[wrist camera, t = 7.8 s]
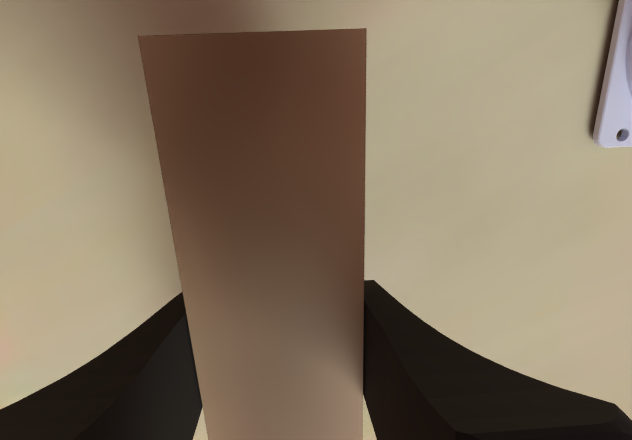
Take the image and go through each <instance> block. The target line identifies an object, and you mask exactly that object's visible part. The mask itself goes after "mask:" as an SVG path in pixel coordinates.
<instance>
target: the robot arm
mask: <svg viewBox="0 0 632 440" xmlns="http://www.w3.org/2000/svg"><path fill="white" fill-rule="evenodd" d="M619 130H622V134H621V136H620V137H619V138H618V139H616V135H617V133H618V131H619ZM593 140H594V143H595V144H597V145H598V146H602V147H607V148H609V147H630V146H632V0H619V3H618V8H617V14H616V19H615V24H614V29H613V34H612V39H611V45H610V50H609V55H608V60H607V65H606V70H605V76H604V81H603V86H602V91H601V96H600V101H599V107H598V112H597V117H596V122H595V127H594V133H593ZM363 395H364V398H365V401H366V405H367V408H368V411H369V415H370V418H371V421H372V425H373V428H374V431H375V435H376V438H377V440H632V420H631V419H630V418H629V417H628V416H627V415H626V414H625V413H624V412H623V411H622V410H621V409H620V408H619V407H618V406H617V405H615V404H613V403H610V402H606V401H603V400H600V399H596V398H593V397H589V396H586V395H582V394H579V393H576V392H572V391H569V390H565V389H562V388H559V387H556V386H553V385H550V384H547V383H545V382H542V381H539V380H536V379H534V378H531V377H528V376H526V375H523V374H521V373H518V372H516V371H513V370H511V369H508V368H506V367H504V366H502V365H500V364H497V363H495V362H493V361H491V360H489V359H487V358H484V357H482V356H480V355H478V354H476V353H474V352H472V351H471V350H469V349H467V348H465V347H463V346H462V345H460V344H458V343H456V342H455V341H453V340H451V339H449V338H448V337H446V336H445V335H443V334H441V333H440V332H438V331H437V330H435V329H434V328H433V327H431V326H430V325H428V324H427V323H425V322H424V321H422V320H421V319H420V318H418V317H417V316H416V315H414V314H413V313H412V312H411V311H409V310H408V309H407V308H406V307H404V306H403V305H402V304H401V303H399V302H398V301H397V300H396V299H395V298H394V297H392V296H391V295H390V294H389V293H388V292H387V291H386V290H384V289H383V288H382V287H381V286H380V285H379V284H378V283H376V282H375V281H374V280H366V281H364V337H363ZM202 407H203V406H202V400H201V394H200V388H199V383H198V377H197V371H196V366H195V360H194V354H193V348H192V343H191V337H190V331H189V326H188V320H187V314H186V308H185V303H184V297H183V292H182V293H180V294H179V295H177V296H176V297H175V298H173V299H172V300H171V301H170V302H168V303H167V304H166V305H165V306H164V307H162V308H161V309H160V310H159V311H158V312H156V313H155V314H154V315H153V316H151V317H150V318H149V319H148V320H146V321H145V322H144V323H143V324H141V325H140V326H139V327H138V328H136V329H135V330H134V331H132V332H131V333H130V334H128V335H127V336H125V337H124V338H123V339H121V340H120V341H119V342H117V343H116V344H115V345H113V346H112V347H110V348H109V349H108V350H106V351H105V352H103V353H102V354H100V355H99V356H97V357H96V358H94V359H93V360H91V361H90V362H88V363H87V364H85V365H83V366H82V367H80V368H78V369H77V370H75V371H73V372H72V373H70V374H68V375H67V376H65V377H63V378H61V379H60V380H58V381H56V382H54V383H52V384H50V385H48V386H46V387H44V388H42V389H41V390H39V391H37V392H35V393H33V394H31V395H29V396H27V397H25V398H23V399H21V400H20V401H18V402H15V403H13V404H11V405H9V406H7V407H5V408H3V409H0V440H193V436H194V433H195V430H196V427H197V423H198V420H199V417H200V413H201V410H202Z"/></svg>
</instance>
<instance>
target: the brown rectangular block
mask: <svg viewBox="0 0 632 440" xmlns="http://www.w3.org/2000/svg"><path fill="white" fill-rule="evenodd" d="M138 40H139V45H140V51H141V57H142V62H143V68H144V74H145V80H146V85H147V91H148V97H149V102H150V108H151V114H152V120H153V125H154V131H155V137H156V142H157V148H158V154H159V160H160V165H161V171H162V177H163V183H164V188H165V194H166V200H167V205H168V211H169V217H170V223H171V228H172V234H173V240H174V245H175V251H176V257H177V263H178V268H179V274H180V280H181V285H182V291H183V297H184V303H185V308H186V314H187V320H188V326H189V331H190V337H191V343H192V348H193V354H194V360H195V366H196V371H197V377H198V383H199V388H200V394H201V400H202V406H203V411H204V417H205V423H206V429H207V434H208V440H363V337H364V234H365V131H366V28H364V29H334V30H304V31H274V32H244V33H214V34H184V35H154V36H138Z"/></svg>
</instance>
